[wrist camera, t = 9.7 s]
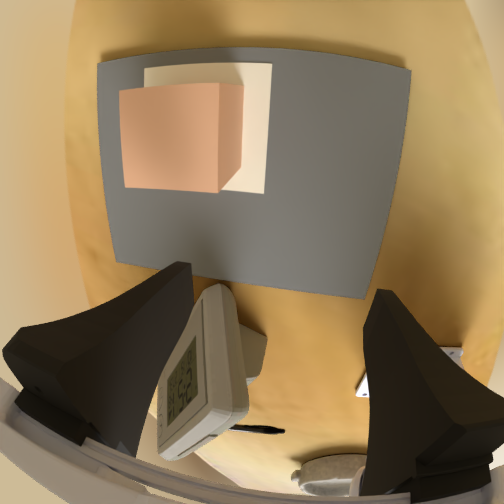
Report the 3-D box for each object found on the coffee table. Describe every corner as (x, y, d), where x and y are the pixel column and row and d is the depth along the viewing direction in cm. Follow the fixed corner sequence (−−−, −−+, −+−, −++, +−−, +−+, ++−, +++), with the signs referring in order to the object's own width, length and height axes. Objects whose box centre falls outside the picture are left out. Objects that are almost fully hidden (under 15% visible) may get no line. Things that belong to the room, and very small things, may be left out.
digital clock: (222, 266, 23) (169, 378, 14) (306, 331, 25) (296, 445, 16) (140, 350, 31) (97, 426, 22) (204, 393, 32) (177, 470, 23)
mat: (407, 71, 14) (411, 70, 13) (363, 292, 22) (364, 300, 21) (104, 63, 16) (96, 63, 15) (120, 257, 24) (115, 262, 23)
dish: (382, 446, 34) (383, 474, 30) (377, 471, 40) (377, 494, 36) (288, 453, 39) (284, 480, 34) (302, 477, 45) (299, 499, 40)
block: (244, 85, 15) (219, 82, 11) (241, 167, 18) (217, 193, 13) (164, 88, 16) (119, 90, 12) (166, 163, 18) (124, 187, 14)
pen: (285, 423, 34) (284, 429, 33) (285, 431, 35) (284, 437, 34) (185, 413, 37) (182, 417, 36) (187, 421, 38) (185, 425, 37)
